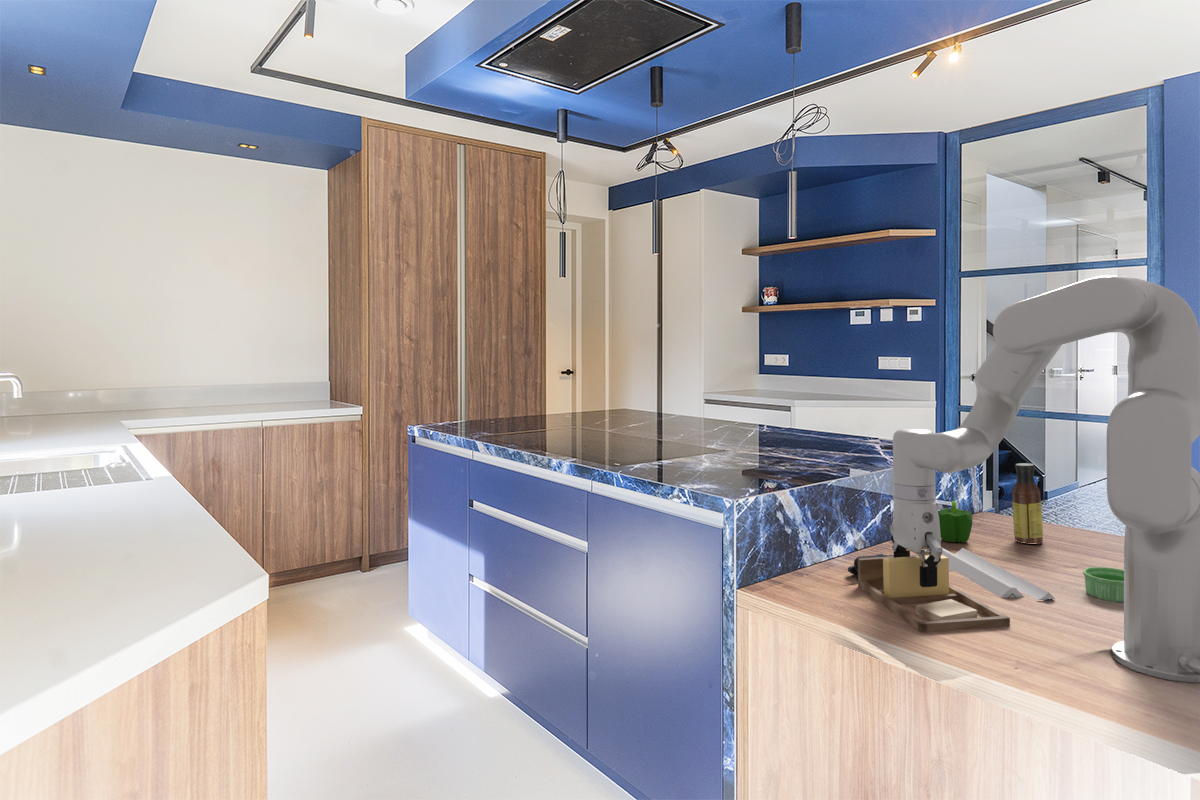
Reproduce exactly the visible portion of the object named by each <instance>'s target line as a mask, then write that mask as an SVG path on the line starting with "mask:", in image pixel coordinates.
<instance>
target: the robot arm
mask: <svg viewBox="0 0 1200 800" xmlns="http://www.w3.org/2000/svg"><path fill="white" fill-rule="evenodd" d="M1108 333H1111V334H1112V333H1122V334H1124V335H1125V336H1126V337H1127V339H1128V344H1129V349H1128V356H1127V376H1128V377H1127V382H1128V383H1127V396H1126V397H1124V398H1122V400H1120V401H1119V402H1118V403H1117V404H1116V405H1115V406H1114V408H1112V411H1111V412H1110V415H1109V417H1108V422H1107V426H1106V495H1107V496H1106V497H1107V502H1108V504H1109V505H1108V506H1109V508H1110V511H1111V512H1112V514H1113V515H1114V517H1116V518H1117V520H1118V521H1119V522H1120V523H1121V524H1123V525H1124V526H1125V529H1124V543H1123V547H1124V549H1123V551H1124V552H1123V570H1124V602H1123V640H1122V641H1121V640H1120V641H1117V642H1116V643H1113V645H1111V656H1112V657H1113V658H1114V660H1116V661H1117V662H1118V663H1119V664H1121V665H1122V666H1124V667H1126V668H1128V669H1130V670H1133V671H1136V672H1139V673H1141V674H1144V675H1147V676H1151V677H1153V678H1154V677H1155V678H1159V679H1164V680H1169V681H1175V682H1182V683H1184V682H1185V683H1200V472H1199V471H1198V470H1197V469H1196V468H1194V467H1193V466H1192V443H1194V442H1195V441H1196V440H1197V439H1198V438H1199V437H1200V325H1199V323H1198V319H1197V317H1196V314H1195V313H1194V311H1193V308H1191V306H1190V305H1189V304H1188V302H1187V301H1186V300H1184V298H1183V297H1182V296H1180V295H1179V294H1177V293H1176V292H1175V291H1173V290H1171V289H1169V288H1167V287H1166V286H1163V285H1160V284H1157V283H1154V282H1151V281H1148V280H1145V279H1141V278H1136V277H1130V276H1122V275H1112V274H1111V275H1109V274H1108V275H1100V276H1095V277H1091V278H1090V277H1089V278H1087V279H1084V280H1081V281H1077V282H1075V283H1072V284H1069V285H1066V286H1063V287H1059V288H1056V289H1054V290H1051V291H1048V292H1044V293H1042V294H1038V295H1035V296H1033V297H1029V298H1026V299H1024V300H1023V299H1022V300H1020V301H1018V302H1014V303H1012V304H1010V305H1008V306H1006V307H1005V308H1004V309H1003V310H1001V312H1000V313H999V314H998V315H997V316H996V318H995V320H994V323H993V327H992V336H993V338H994V341H995V342H996V343H995V344H994V345H993V348H992V349H991V350H990V352H989V353H988V355H987V356H986V358H985V359H984V361H983V362H982V364H981V365H980V367H979V368H978V370H977V371H976V373H975V375H974V384H975V386H976V390H977V392H976V398H975V401H974V403H973V405H972V407H971V409H970V411H969V413H968V414H967V415H966V417H965V419H964V420H963V421H962V423H961V424H960V426H959V427H957V428H955V429H952V430H951V429H950V430H948V431H943V432H933V431H932V430H930V429H925V428H913V427H912V428H910V427H909V428H901V429H898V430H896V431H895V432H894V433H893V434H892V435H893V436H892V482H893V484H892V485H893V486H892V487H893V488H892V489H893V490H892V493H893V495H892V497H893V500H894V501H893V508H892V510H893V511H892V512H893V513H892V524H890V525H889V531H890V534H891V537H890V539H891V542H892V546H891V548H892V550H893V555H894V558H897V557H910V555H911V553H913V554H914V555H918V556H919V559H920V561H921V564H922V566H920V586H921V587H936V586H937V567H938V566H939V562H940V560H941V555H942V552H943V549H942V548H943V547H942V546H941V543H942V541H941V540H942V539H941V537H940V523H939V515H938V511H939V510H938V505H937V503H936V500H937V499H936V498H937V497H936V496H937V495H936V492H937V491H936V489H937V487H936V484H937V483H936V472H940V473H944V474H952V473H954V474H955V473H959V472H962V471H965V470H966V469H969V468H974V467H977V466H980V465H981V464H983V463H984V462H985V461H987V459H989V458H990V456H991V455H992V454H993V453H994V451H995V450H996V448H997V447H998V446H999V444H1000V443H1001V441H1002V440H1003V439H1004V437H1005V436H1006V435H1007V433H1008V431H1009V430H1010V428H1012V425H1013V423H1014V422H1015V420H1016V417H1017V415H1018V413H1019V411H1020V409H1021V406H1022V404H1023V400H1024V399H1025V397H1026V396H1027V394H1028V393H1029V391H1030V390H1031V389H1032V388H1033V386H1034V384H1035V383H1036V382H1037V380H1038V378H1039V377H1040V376H1041V375H1042V373H1043V372H1044V370H1045V369H1046V368H1047V366H1048V365H1049V364H1050V363H1051V361H1052V359H1053V358H1054V357H1055V355H1056V354H1057V353H1058V351H1059V350H1060V348H1061V347H1062V346H1063V345H1065V344H1068V343H1072V342H1073V343H1074V342H1077V341H1081V340H1084V339H1088V338H1091V337H1094V336H1096V337H1097V336H1099V335H1104V334H1108ZM926 549H928V550H926ZM925 555H930V556H929V557H928V558H927V559H926V558H925Z"/></svg>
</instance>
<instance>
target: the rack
mask: <svg viewBox="0 0 1200 800" xmlns="http://www.w3.org/2000/svg"><path fill="white" fill-rule="evenodd" d="M912 556H918V554H910V557H912ZM925 556H928V555H925ZM883 558H894V556H888V557H872V558H858V576H857V580H858V581H857V585H858V588H859V589H861V590H862V591H863V592H865V593H866V594H868V595H869V596H871V597H872V599H875V600H876V601H877V602H878V603H880V604H881V605H883V606H884V607H886V608H887V609H888V610H890V612H892V613H894V614H895V615H896V616H898V617H899V618H901V620H904V621H905V622H906V623H907V624H908V625H910V626H912V627H913V628H914V629H916V630H917V631H918V632H920V633H935V632H947V631H948V632H949V631H961V630H977V629H989V628H990V629H991V628H1001V627H1002V628H1004V627H1010V626H1011V620H1010V619H1011V618H1010V617H1009V616H1007V615H1006V614H1004V613H1002V612H1000V611H998V610H996V609H995V608H993V607H991V606H989V605H988V604H985V603H984V602H982V601H980V600H979V599H977V598H975V597H973V596H971V595H969V594H968V593H966V592H964V591H962V590H960V589H958V588H957V587H955V586H953V585H951V584H950V583H949V594H943V595H929V596H914V597H900V598H889V597H887V596H886V595H885V594H884V589H877V588H884V582H883ZM949 599H952V600H954V601H960V603H962V604H964V605H966V606H969V607H971V608H973V609H976V610H977V613H978V612H979V613H980V614H982V615H984V616H983V617H977V618H968V619H954V620H940V621H931V620H928V621H924V620H922V619H920V618H919V617H917V616H916V615H914V614H913V613H912V612H910V611H909V610H907V609H906V608H905V607H903V606H902V605H909V604H911V605H913V604H926V603H932V602H937V601H943V600H949Z"/></svg>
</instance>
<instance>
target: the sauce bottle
mask: <svg viewBox="0 0 1200 800" xmlns="http://www.w3.org/2000/svg"><path fill="white" fill-rule="evenodd" d="M1014 467H1015V470H1016V482H1015V484H1014V485H1013V487H1012V489H1011V495H1012V499H1011V503H1012V519H1013V535H1014V540H1015V541H1016V540H1017V541H1019V542H1025V543H1041V542H1042V543H1043V541H1044V540H1043V539H1044V531H1043V529H1044V526H1043V525H1044V523H1043V509H1042V508H1043V507H1042V499H1041V489H1040V488H1039V487H1038V485H1037V483H1036V481H1035V476H1034V475H1035V470H1036V468H1035V464H1034V463H1028V462H1025V463H1024V462H1023V463H1022V462H1020V463H1015V465H1014ZM1017 541H1016V542H1017ZM1019 542H1018V543H1019ZM1042 543H1041V544H1042Z"/></svg>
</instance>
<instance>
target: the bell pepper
mask: <svg viewBox="0 0 1200 800" xmlns="http://www.w3.org/2000/svg"><path fill="white" fill-rule="evenodd" d="M938 515H939V523H940V537H941V540H942V541H944V542H947V543H960V542H962V543H966V542H968V541H969V540H970V536H971V531H972V528H973V514H972V512H971V511H968V510H962V509H960V508H957V502H956V500H952V501H951V509H950V508H948V507H945V508H942V509H941V510H938Z"/></svg>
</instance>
